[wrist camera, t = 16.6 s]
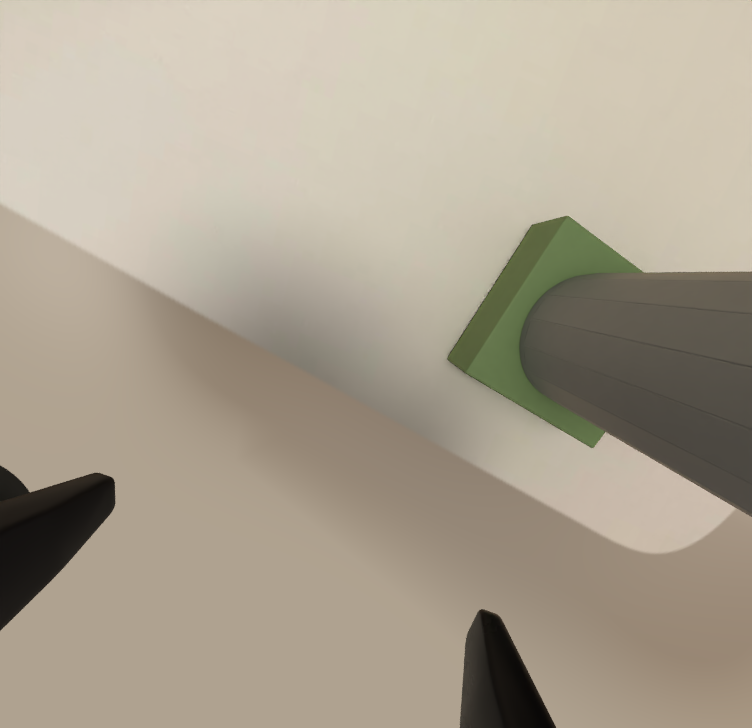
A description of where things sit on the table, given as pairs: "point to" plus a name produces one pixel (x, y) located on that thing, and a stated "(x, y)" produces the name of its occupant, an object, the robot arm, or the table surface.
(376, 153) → the table surface
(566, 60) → the table surface
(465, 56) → the table surface
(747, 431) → the flask
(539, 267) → the green block
